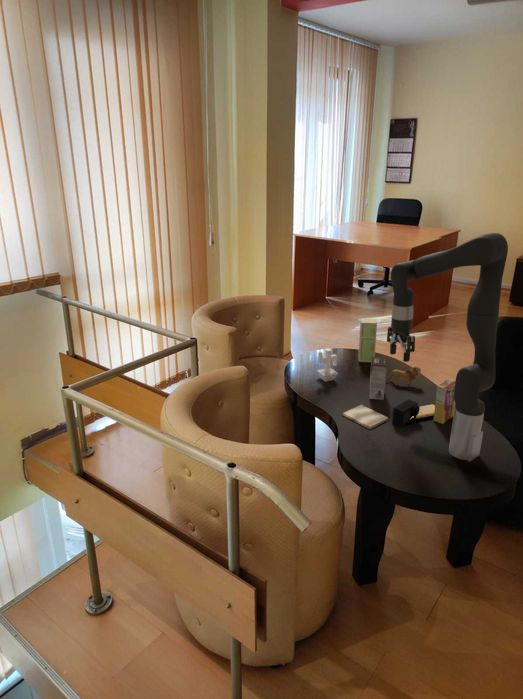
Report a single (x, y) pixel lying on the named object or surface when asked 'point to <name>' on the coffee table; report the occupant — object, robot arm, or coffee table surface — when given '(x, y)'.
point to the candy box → (444, 401)
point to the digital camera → (405, 412)
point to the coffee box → (377, 378)
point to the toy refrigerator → (367, 339)
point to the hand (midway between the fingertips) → (399, 357)
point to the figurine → (327, 365)
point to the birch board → (365, 416)
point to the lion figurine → (405, 375)
